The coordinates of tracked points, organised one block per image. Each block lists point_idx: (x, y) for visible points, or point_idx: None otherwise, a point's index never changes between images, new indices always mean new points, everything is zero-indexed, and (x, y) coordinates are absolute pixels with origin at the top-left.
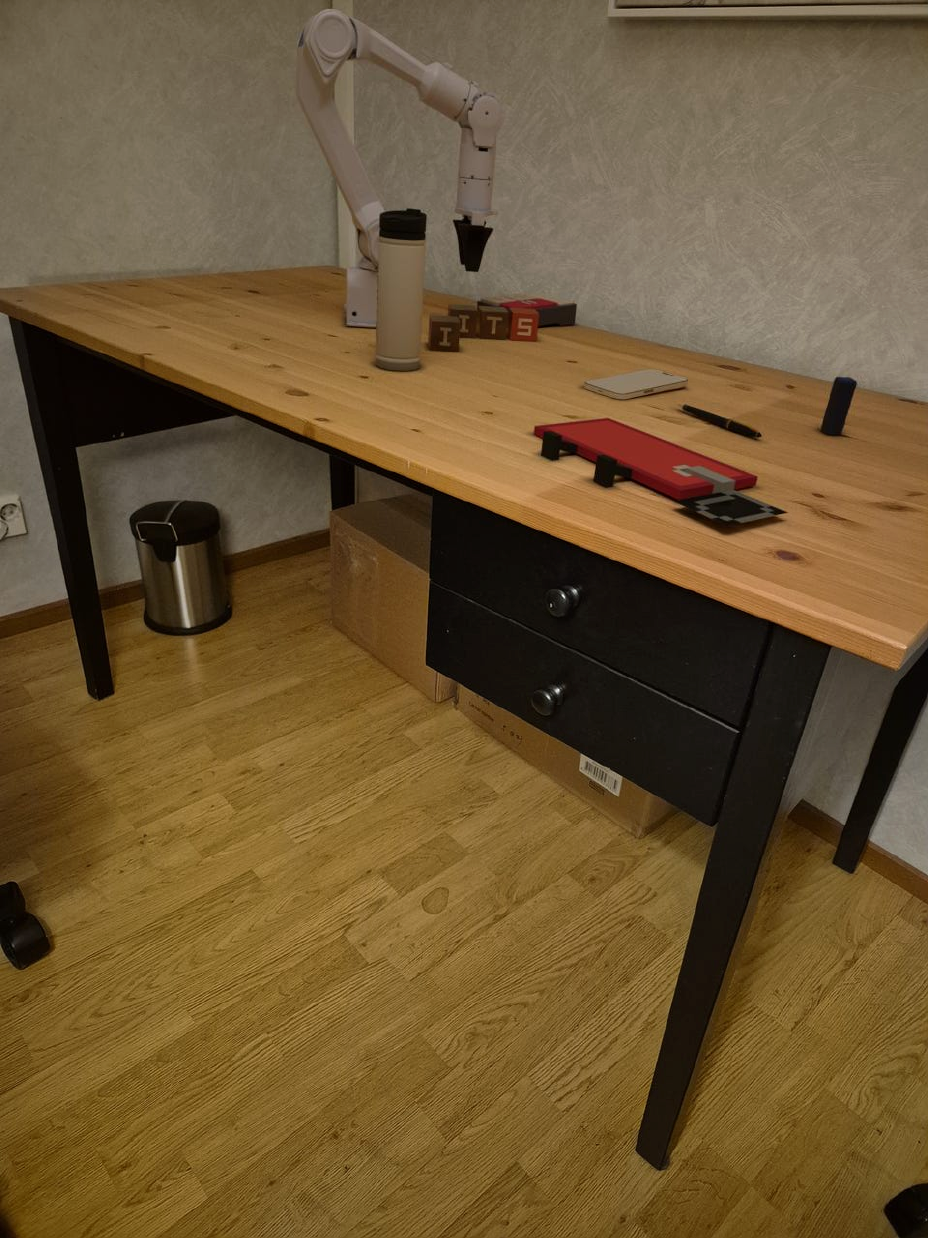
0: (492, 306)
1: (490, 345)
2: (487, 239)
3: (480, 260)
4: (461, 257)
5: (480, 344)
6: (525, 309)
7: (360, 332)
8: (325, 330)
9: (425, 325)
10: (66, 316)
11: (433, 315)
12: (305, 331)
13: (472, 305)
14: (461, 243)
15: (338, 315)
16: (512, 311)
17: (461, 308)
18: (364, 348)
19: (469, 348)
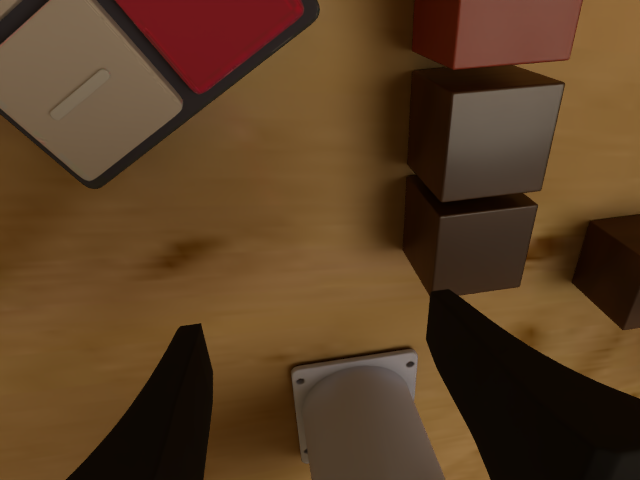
0: (185, 121)
1: (587, 122)
2: (620, 392)
3: (487, 320)
4: (209, 401)
5: (573, 153)
6: None
7: (455, 410)
8: (447, 457)
9: (331, 307)
10: None
11: (627, 321)
12: (462, 476)
13: (442, 225)
14: (201, 477)
15: (278, 473)
16: (549, 60)
17: (509, 258)
18: (602, 380)
19: (620, 184)
